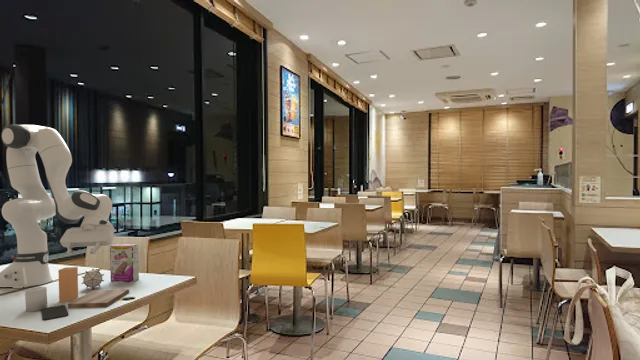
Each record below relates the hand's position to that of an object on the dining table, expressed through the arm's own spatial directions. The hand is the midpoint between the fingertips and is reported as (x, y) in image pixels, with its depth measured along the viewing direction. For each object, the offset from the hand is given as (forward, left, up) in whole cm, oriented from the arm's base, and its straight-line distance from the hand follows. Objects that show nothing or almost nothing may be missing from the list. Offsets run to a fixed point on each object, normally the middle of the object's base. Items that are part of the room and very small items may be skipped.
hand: (80, 253), depth 166 cm
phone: (+4, -24, -17) cm, 30 cm away
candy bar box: (+9, +20, -16) cm, 27 cm away
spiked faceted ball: (+1, +8, -16) cm, 18 cm away
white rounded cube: (-5, -19, -16) cm, 26 cm away
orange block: (0, -8, -16) cm, 18 cm away
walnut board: (+13, -10, -16) cm, 23 cm away
